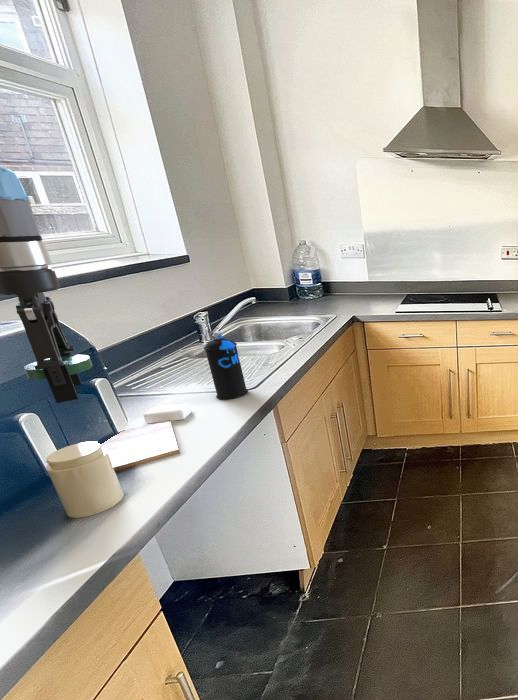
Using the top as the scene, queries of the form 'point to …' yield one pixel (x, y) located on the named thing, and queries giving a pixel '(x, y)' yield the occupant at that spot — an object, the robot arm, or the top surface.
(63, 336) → the robot arm
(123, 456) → the white flat board
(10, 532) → the top surface
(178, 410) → the soap
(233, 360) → the aerosol can
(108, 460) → the jar
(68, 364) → the lid
